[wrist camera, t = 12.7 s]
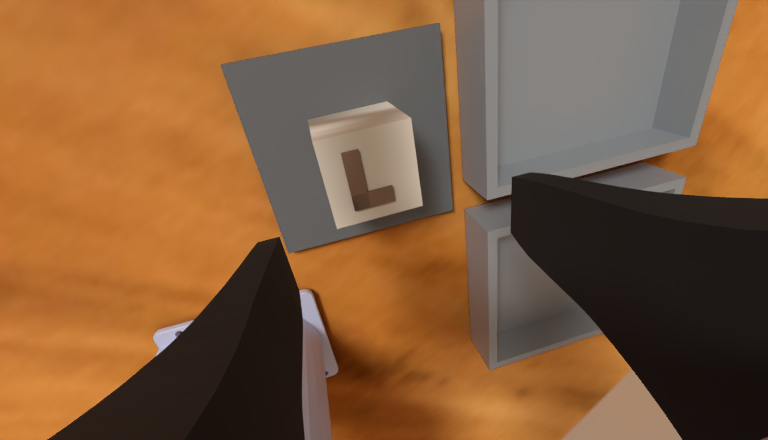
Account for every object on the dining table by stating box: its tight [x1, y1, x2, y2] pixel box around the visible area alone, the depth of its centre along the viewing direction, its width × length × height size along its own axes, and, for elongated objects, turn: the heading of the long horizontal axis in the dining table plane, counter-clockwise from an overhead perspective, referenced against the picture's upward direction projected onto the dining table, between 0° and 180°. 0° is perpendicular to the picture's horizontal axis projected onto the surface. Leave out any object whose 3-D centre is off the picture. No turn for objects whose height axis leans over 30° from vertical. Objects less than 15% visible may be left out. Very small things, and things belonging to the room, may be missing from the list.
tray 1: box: [454, 0, 738, 200], centre depth 18 cm, size 13×12×3 cm
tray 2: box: [465, 162, 686, 370], centre depth 25 cm, size 13×12×3 cm
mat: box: [221, 23, 453, 253], centre depth 18 cm, size 10×10×1 cm
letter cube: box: [308, 101, 423, 229], centre depth 16 cm, size 4×4×4 cm
